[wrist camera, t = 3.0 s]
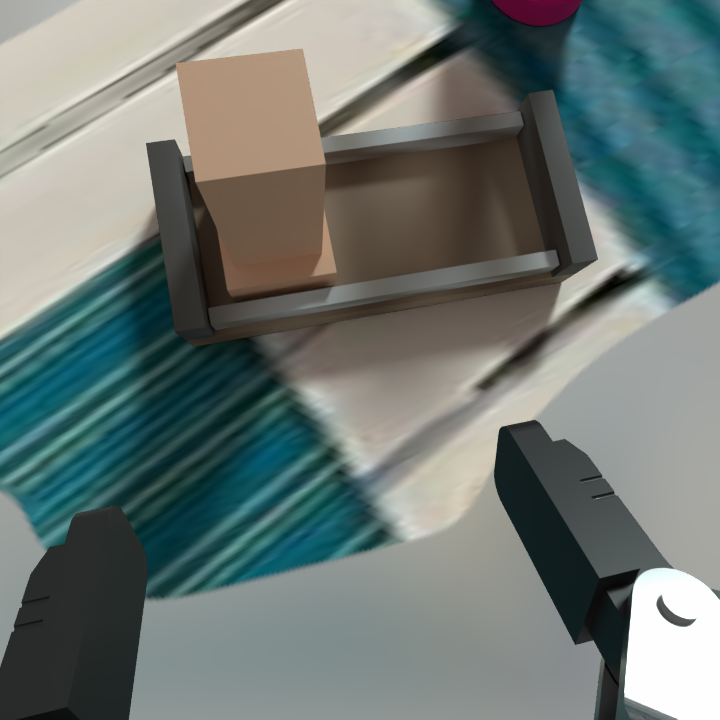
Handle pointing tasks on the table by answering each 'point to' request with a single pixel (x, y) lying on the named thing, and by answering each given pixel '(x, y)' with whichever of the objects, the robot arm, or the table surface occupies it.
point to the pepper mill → (538, 10)
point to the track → (396, 223)
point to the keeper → (260, 170)
